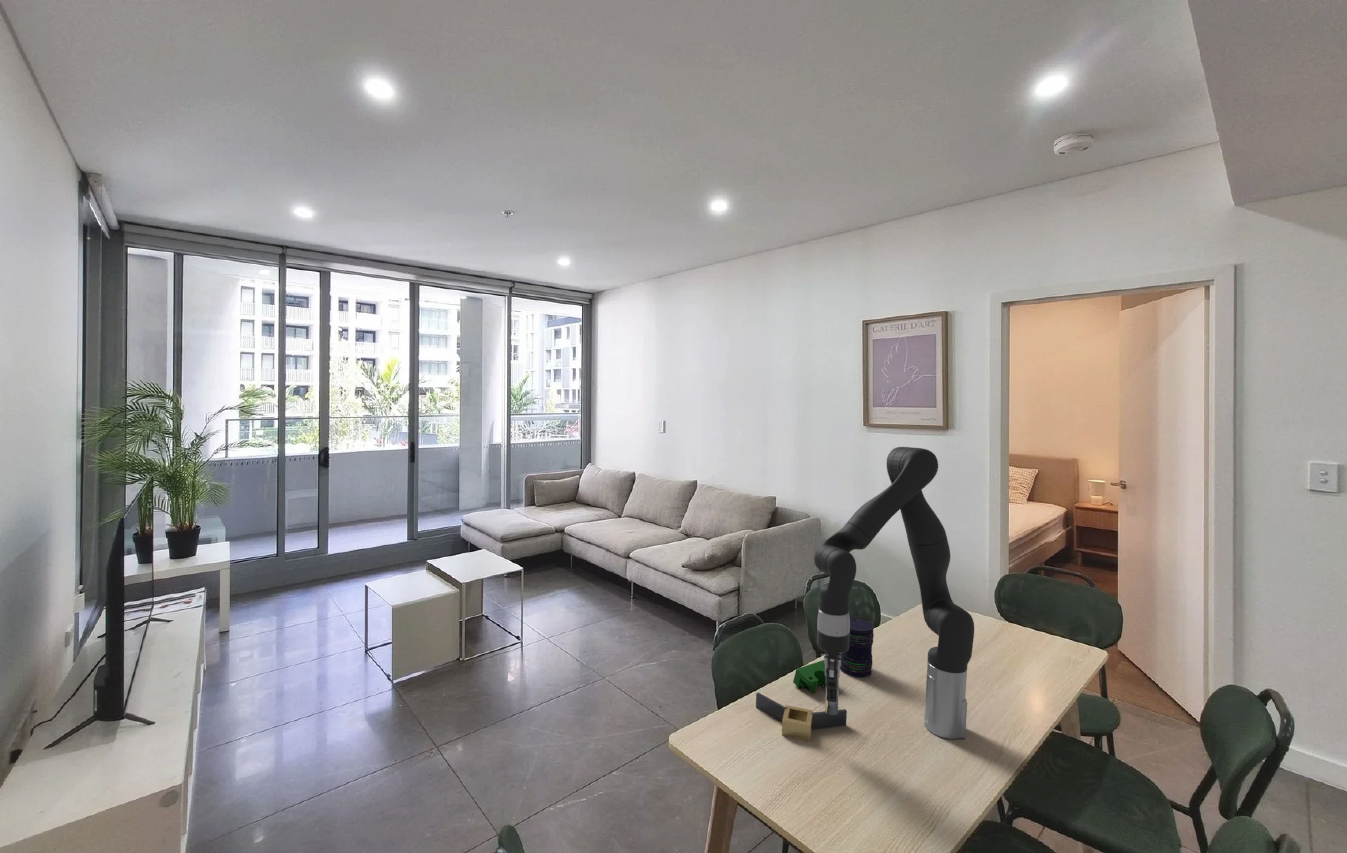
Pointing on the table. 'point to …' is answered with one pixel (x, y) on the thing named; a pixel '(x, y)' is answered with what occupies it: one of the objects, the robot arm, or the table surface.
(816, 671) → the clamp
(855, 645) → the storage jar
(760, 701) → the hinge
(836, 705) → the hinge pin
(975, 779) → the table surface
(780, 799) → the table surface
